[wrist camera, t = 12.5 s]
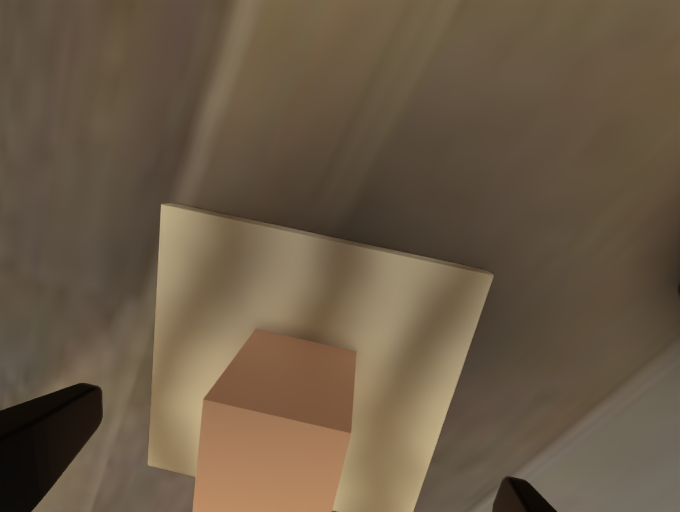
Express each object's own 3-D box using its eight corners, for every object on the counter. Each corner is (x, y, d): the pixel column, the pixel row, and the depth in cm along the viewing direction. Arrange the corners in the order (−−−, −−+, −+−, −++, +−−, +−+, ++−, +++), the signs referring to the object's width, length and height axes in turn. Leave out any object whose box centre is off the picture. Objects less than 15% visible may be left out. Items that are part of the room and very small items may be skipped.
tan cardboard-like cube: (356, 351, 18) (351, 433, 12) (337, 435, 20) (324, 543, 14) (255, 329, 18) (203, 399, 13) (243, 414, 20) (192, 511, 14)
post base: (486, 270, 17) (538, 311, 12) (405, 512, 22) (417, 620, 17) (172, 202, 18) (90, 213, 13) (157, 452, 23) (92, 537, 17)
